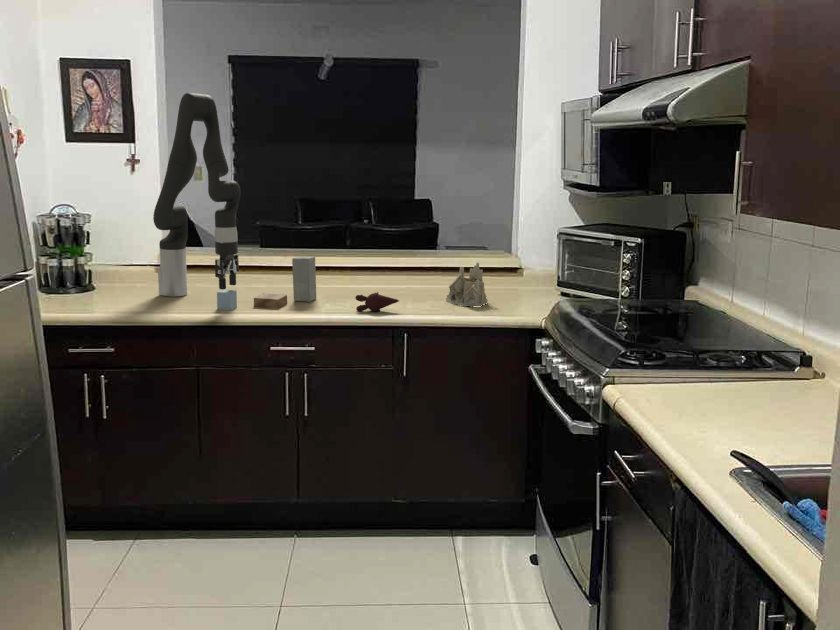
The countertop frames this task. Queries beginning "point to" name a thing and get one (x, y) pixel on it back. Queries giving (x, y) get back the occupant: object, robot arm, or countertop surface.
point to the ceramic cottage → (468, 288)
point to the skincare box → (304, 278)
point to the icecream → (374, 302)
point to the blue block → (227, 299)
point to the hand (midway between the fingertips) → (227, 287)
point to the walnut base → (270, 300)
